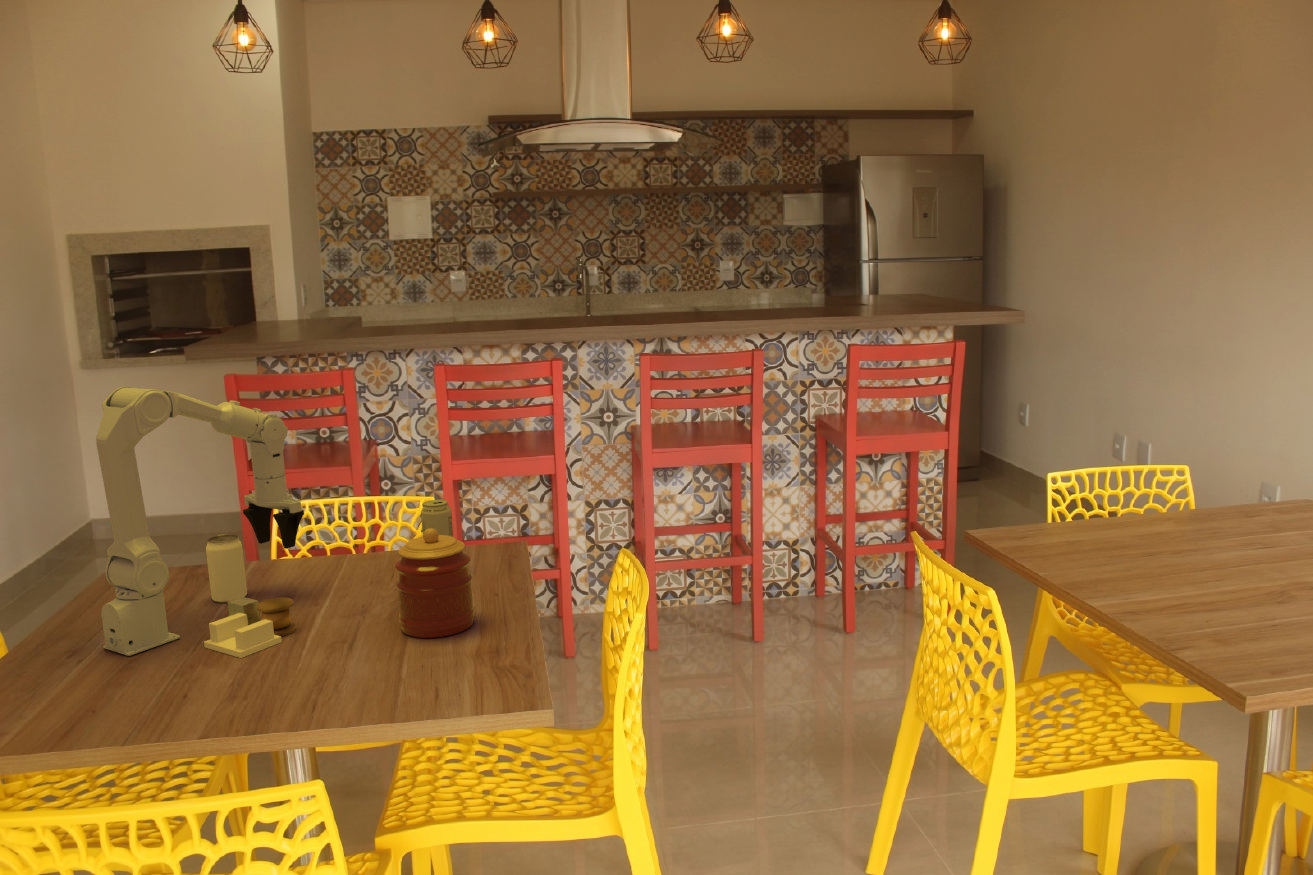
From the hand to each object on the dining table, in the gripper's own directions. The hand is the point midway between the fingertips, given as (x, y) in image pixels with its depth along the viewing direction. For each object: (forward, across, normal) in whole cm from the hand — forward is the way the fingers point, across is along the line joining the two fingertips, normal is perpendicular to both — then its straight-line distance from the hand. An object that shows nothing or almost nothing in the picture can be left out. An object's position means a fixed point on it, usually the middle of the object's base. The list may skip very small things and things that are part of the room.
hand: (276, 544), depth 203 cm
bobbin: (+10, -16, +14) cm, 24 cm away
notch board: (+10, -16, +20) cm, 28 cm away
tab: (+10, -10, +15) cm, 20 cm away
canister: (+10, -40, -2) cm, 41 cm away
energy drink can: (+10, -19, -24) cm, 32 cm away
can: (+10, +8, +6) cm, 14 cm away
